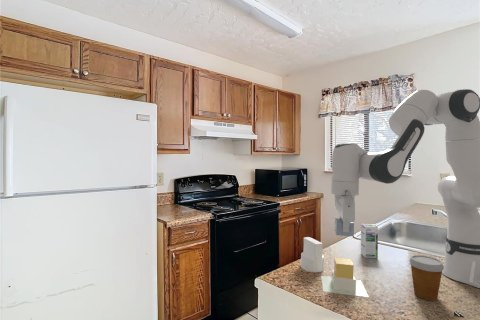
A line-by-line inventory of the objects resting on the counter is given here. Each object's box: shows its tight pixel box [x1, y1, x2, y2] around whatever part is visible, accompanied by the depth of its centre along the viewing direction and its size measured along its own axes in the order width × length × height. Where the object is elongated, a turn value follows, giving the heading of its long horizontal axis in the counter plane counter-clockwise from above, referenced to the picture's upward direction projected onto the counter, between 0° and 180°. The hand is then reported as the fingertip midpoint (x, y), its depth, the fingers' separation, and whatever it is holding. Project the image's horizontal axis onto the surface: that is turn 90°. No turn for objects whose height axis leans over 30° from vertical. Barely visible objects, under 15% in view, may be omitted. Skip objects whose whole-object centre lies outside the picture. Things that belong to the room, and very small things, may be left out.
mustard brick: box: [333, 257, 355, 279], centre depth 92 cm, size 6×6×4 cm
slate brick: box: [334, 218, 355, 237], centre depth 92 cm, size 6×6×4 cm
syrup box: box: [360, 223, 379, 259], centre depth 124 cm, size 6×6×14 cm
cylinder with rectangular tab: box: [300, 236, 325, 273], centre depth 107 cm, size 9×9×12 cm
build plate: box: [320, 275, 370, 298], centre depth 92 cm, size 14×12×1 cm
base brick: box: [331, 268, 357, 292], centre depth 92 cm, size 7×7×4 cm
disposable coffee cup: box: [408, 254, 444, 302], centre depth 88 cm, size 10×10×12 cm
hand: (344, 228), depth 92 cm, fingers closed on slate brick, 5 cm apart
